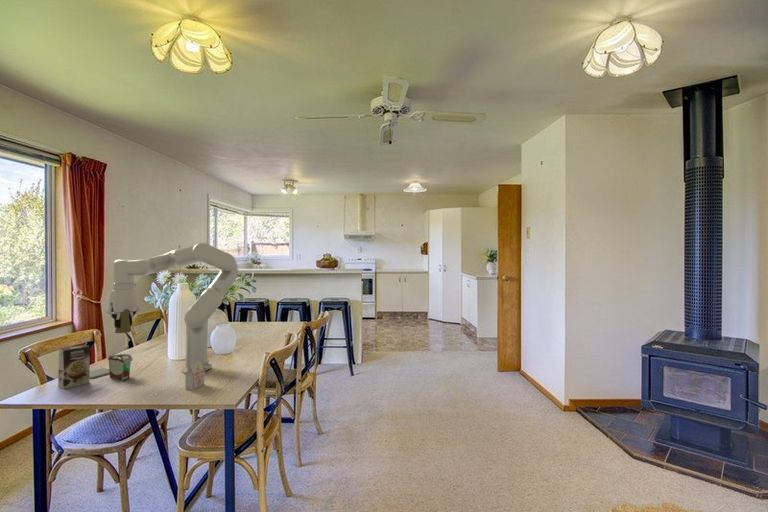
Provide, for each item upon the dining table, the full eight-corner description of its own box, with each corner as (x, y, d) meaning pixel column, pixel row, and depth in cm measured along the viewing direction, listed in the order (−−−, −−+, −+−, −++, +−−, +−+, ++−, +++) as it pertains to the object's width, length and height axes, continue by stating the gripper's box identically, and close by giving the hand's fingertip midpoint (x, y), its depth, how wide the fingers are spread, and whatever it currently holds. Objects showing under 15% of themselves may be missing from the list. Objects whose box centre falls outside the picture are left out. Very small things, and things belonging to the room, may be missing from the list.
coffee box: (63, 389, 151) (63, 350, 151) (57, 386, 154) (58, 348, 154) (90, 382, 159) (90, 345, 159) (84, 380, 162) (84, 343, 162)
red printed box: (185, 389, 152) (185, 365, 152) (197, 383, 159) (197, 361, 159) (192, 390, 151) (193, 366, 151) (204, 384, 158) (204, 361, 158)
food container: (138, 377, 166) (138, 355, 165) (124, 382, 160) (124, 359, 160) (122, 373, 171) (122, 352, 171) (107, 377, 165) (107, 355, 165)
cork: (122, 333, 162) (122, 308, 162) (111, 332, 163) (111, 308, 163) (134, 330, 168) (134, 306, 167) (123, 330, 169) (123, 306, 169)
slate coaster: (115, 372, 172) (115, 370, 172) (91, 379, 163) (91, 377, 163) (102, 369, 177) (102, 367, 177) (78, 375, 167) (78, 374, 167)
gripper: (137, 285, 174) (136, 323, 174) (98, 288, 159) (97, 329, 159) (147, 285, 171) (147, 324, 171) (108, 288, 156) (108, 331, 156)
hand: (123, 326), depth 165 cm, fingers closed on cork, 4 cm apart
